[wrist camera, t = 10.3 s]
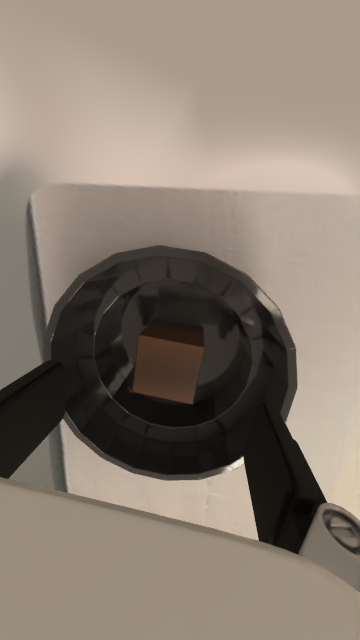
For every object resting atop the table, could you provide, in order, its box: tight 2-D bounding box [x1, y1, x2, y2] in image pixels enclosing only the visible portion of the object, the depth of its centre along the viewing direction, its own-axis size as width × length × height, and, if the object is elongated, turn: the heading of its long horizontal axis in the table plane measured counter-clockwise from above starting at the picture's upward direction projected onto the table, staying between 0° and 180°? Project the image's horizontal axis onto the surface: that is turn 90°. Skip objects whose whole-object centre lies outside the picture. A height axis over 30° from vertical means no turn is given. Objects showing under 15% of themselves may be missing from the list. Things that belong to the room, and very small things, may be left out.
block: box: [132, 319, 205, 404], centre depth 16 cm, size 4×4×4 cm
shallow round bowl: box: [43, 246, 297, 481], centre depth 16 cm, size 15×15×6 cm
